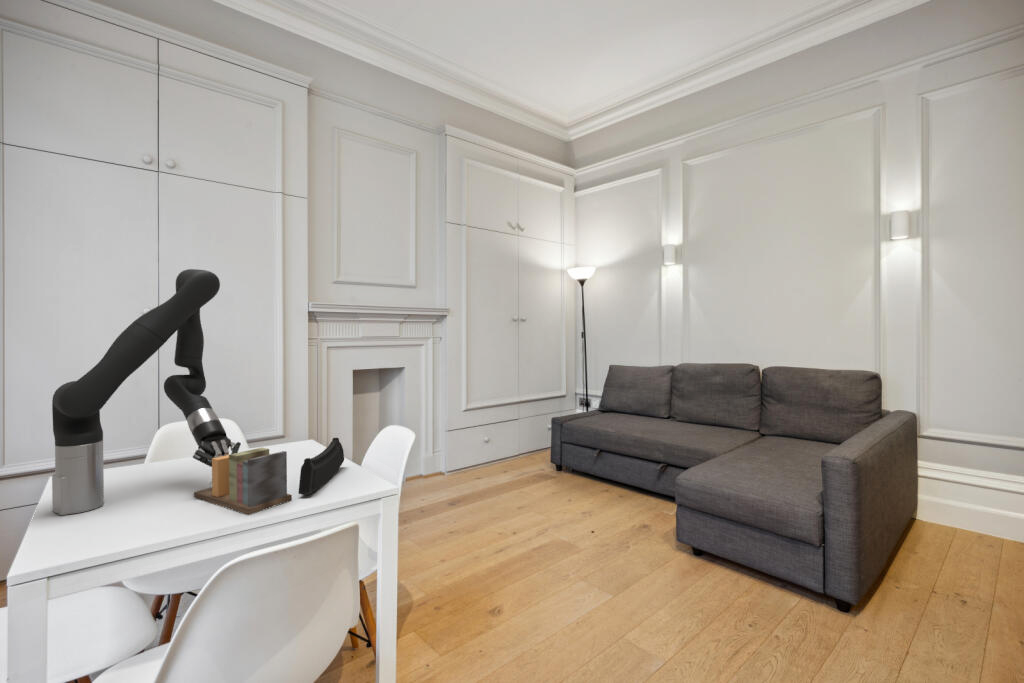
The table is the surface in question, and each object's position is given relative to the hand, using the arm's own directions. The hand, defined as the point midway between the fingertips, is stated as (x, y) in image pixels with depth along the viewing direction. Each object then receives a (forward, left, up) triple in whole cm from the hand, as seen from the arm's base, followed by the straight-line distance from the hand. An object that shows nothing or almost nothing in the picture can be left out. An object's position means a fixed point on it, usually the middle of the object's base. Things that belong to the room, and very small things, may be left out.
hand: (230, 474), depth 131 cm
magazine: (+22, -12, -6) cm, 26 cm away
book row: (0, -6, -6) cm, 9 cm away
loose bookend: (0, -2, -4) cm, 5 cm away
